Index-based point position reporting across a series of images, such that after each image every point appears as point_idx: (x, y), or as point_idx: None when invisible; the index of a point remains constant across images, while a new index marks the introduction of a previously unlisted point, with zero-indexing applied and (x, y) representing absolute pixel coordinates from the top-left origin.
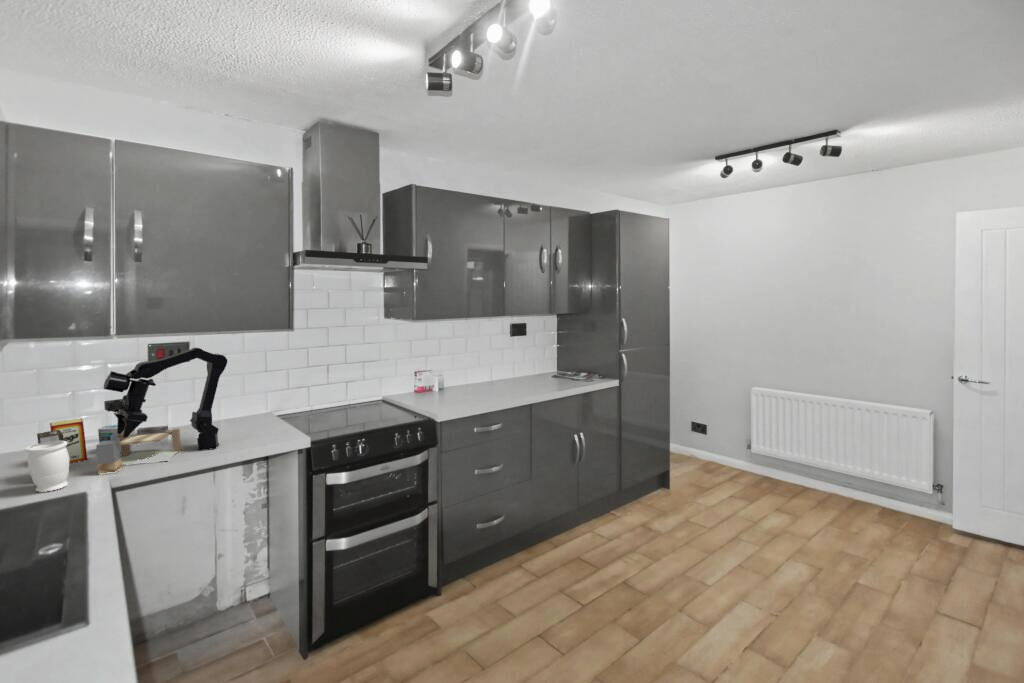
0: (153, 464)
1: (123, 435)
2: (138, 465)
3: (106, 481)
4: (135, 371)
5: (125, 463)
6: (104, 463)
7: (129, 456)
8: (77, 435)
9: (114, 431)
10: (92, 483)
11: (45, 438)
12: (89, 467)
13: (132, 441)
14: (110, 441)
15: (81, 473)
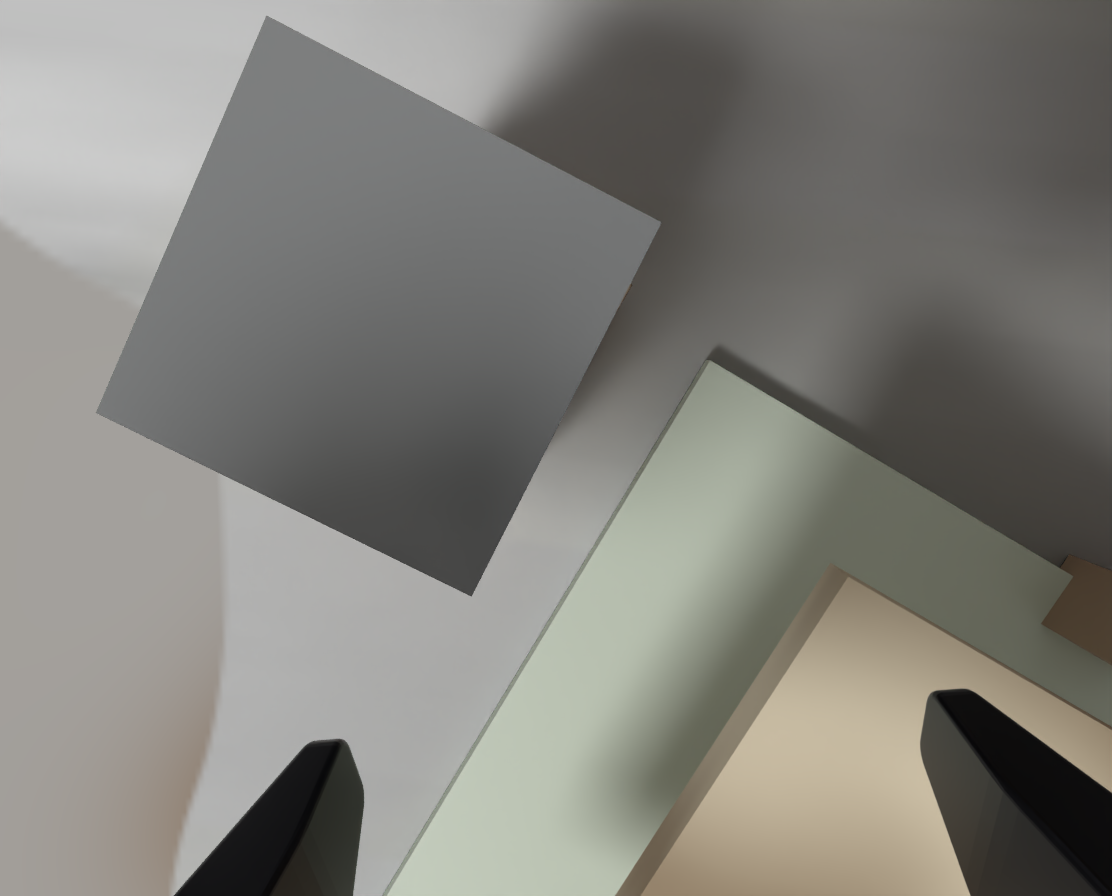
0: (383, 786)
1: (294, 775)
2: (492, 646)
3: (50, 231)
4: None
5: (650, 536)
6: None
7: (992, 637)
8: None
9: None
10: (94, 82)
11: None
12: (952, 150)
13: (731, 824)
14: (426, 399)
15: (719, 27)
